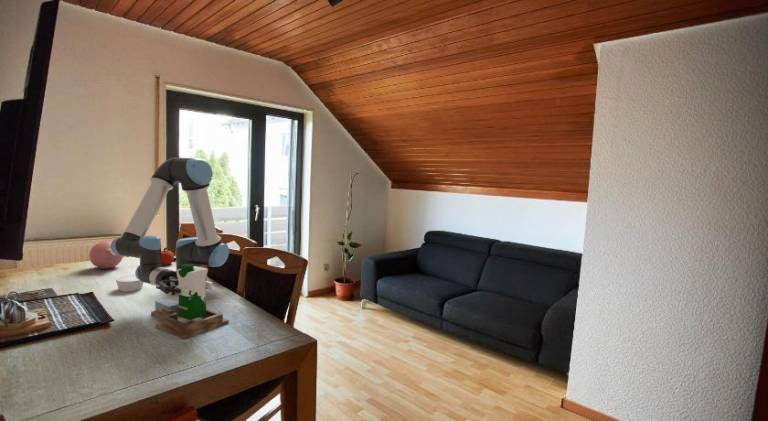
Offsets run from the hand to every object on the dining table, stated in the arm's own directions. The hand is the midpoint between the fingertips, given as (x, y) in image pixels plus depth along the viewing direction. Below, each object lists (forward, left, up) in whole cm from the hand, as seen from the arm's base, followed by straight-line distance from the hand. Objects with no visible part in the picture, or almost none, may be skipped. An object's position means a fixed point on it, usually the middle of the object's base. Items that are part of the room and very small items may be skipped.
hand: (200, 289), depth 143 cm
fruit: (-42, -95, -15) cm, 105 cm away
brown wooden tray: (0, -11, -15) cm, 18 cm away
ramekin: (-8, -65, -15) cm, 67 cm away
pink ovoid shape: (-18, -108, -15) cm, 110 cm away
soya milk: (0, -4, -11) cm, 12 cm away
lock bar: (0, -22, -13) cm, 25 cm away
